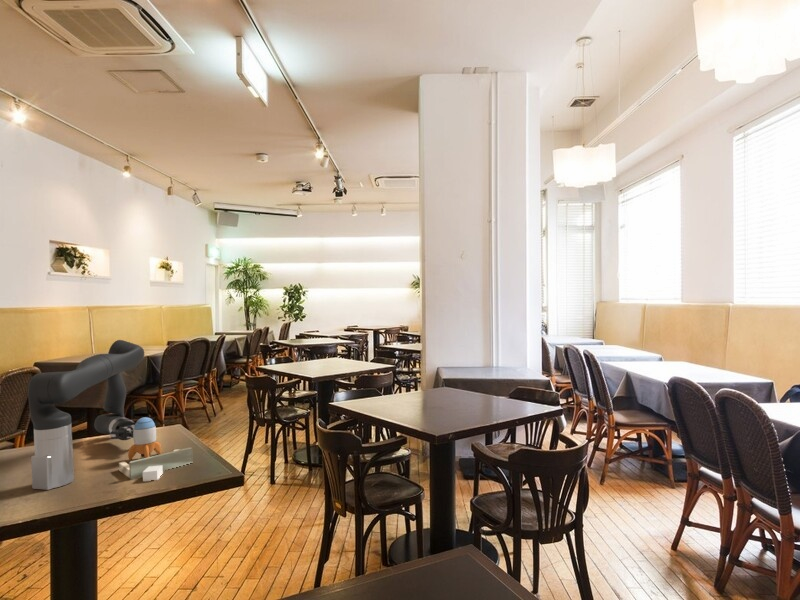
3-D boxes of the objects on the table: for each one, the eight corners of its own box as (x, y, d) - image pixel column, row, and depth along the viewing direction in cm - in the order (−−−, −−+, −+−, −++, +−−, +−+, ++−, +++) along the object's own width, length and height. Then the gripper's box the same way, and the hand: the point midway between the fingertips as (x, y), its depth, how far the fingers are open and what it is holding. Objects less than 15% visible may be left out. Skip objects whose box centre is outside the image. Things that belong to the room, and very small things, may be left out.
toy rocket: (154, 465, 161) (141, 423, 159) (123, 472, 161) (109, 430, 159) (168, 451, 171) (156, 411, 169) (139, 457, 171) (127, 418, 169)
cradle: (118, 470, 154) (118, 454, 154) (177, 455, 167) (177, 441, 167) (131, 479, 145) (130, 462, 145) (192, 463, 158) (192, 448, 158)
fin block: (157, 480, 144) (156, 470, 144) (142, 482, 143) (142, 472, 143) (162, 475, 149) (162, 465, 149) (149, 476, 148) (148, 466, 148)
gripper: (142, 434, 187) (157, 441, 175) (103, 442, 178) (117, 450, 166) (141, 414, 187) (156, 420, 175) (102, 422, 178) (115, 428, 166)
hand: (137, 435), depth 170 cm, fingers closed
